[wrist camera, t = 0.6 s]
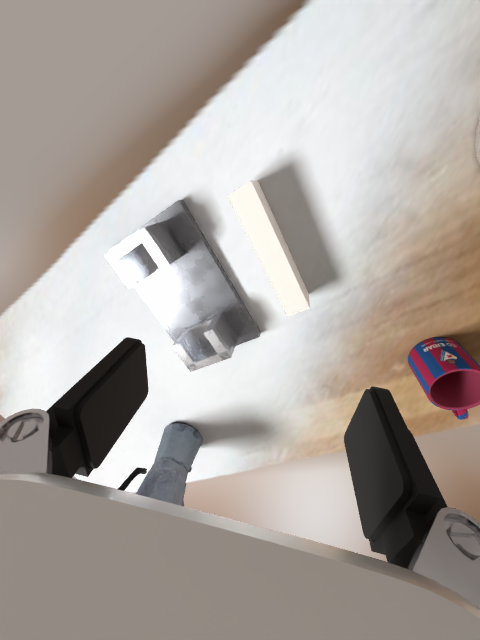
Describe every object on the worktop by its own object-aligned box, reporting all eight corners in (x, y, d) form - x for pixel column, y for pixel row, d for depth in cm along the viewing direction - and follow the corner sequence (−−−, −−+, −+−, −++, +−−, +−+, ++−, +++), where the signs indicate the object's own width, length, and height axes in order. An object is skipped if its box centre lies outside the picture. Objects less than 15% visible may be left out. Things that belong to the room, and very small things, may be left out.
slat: (258, 180, 31) (251, 180, 27) (308, 293, 36) (309, 308, 32) (236, 193, 32) (227, 195, 28) (289, 300, 38) (287, 316, 33)
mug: (461, 332, 34) (494, 363, 29) (463, 388, 38) (492, 426, 32) (405, 342, 37) (425, 373, 31) (412, 394, 40) (430, 430, 35)
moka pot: (217, 454, 58) (182, 568, 41) (156, 444, 62) (100, 547, 45) (212, 425, 54) (171, 540, 37) (146, 416, 57) (80, 518, 40)
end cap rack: (182, 199, 34) (159, 203, 28) (260, 332, 41) (254, 355, 35) (112, 249, 39) (83, 260, 34) (192, 358, 46) (178, 382, 41)
